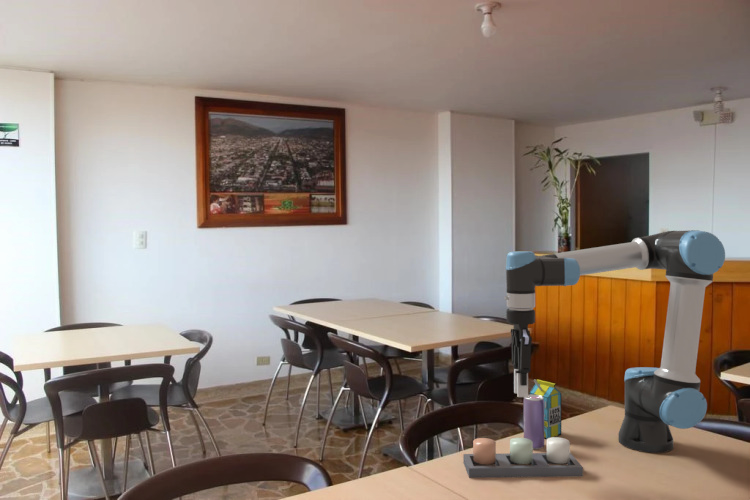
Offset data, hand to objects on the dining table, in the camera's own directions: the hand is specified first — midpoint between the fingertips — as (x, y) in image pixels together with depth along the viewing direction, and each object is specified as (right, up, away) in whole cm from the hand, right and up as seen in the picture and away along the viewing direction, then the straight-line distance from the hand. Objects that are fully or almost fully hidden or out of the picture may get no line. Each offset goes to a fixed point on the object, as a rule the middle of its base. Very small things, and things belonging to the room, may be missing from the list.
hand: (521, 394), depth 159 cm
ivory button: (+10, -18, +1) cm, 20 cm away
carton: (+14, -20, +28) cm, 37 cm away
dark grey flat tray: (0, -21, +1) cm, 21 cm away
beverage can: (+8, -20, +18) cm, 28 cm away
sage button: (0, -18, +1) cm, 18 cm away
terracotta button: (-10, -18, +1) cm, 20 cm away
